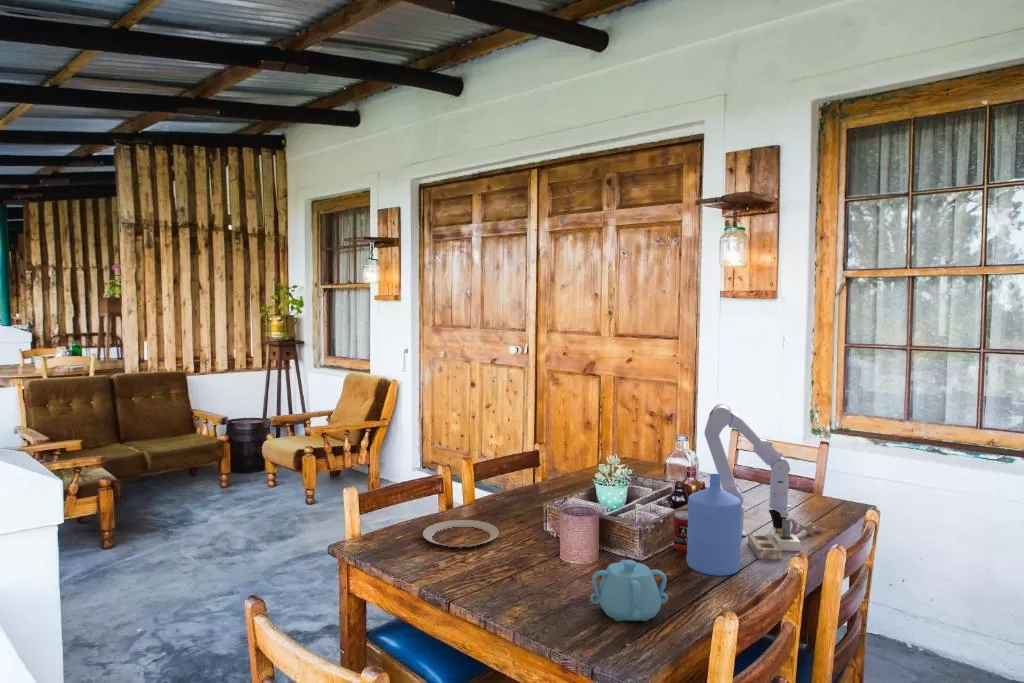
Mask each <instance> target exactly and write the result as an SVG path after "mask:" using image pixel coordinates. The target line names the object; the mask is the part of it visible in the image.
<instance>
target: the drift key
mask: <svg viewBox="0 0 1024 683" xmlns="http://www.w3.org/2000/svg"><path fill="white" fill-rule="evenodd" d="M773 531H774V532H773V533H774V534H780V535H781V538H782V528H777V527H774V528H773Z"/></svg>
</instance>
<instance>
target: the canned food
mask: <svg viewBox="0 0 1024 683" xmlns="http://www.w3.org/2000/svg"><path fill="white" fill-rule="evenodd" d="M673 516H674V517H673V546H674V549H676V550H678V551H680V552H685V553H687V528H688V510H679V511H676V512H674V515H673Z"/></svg>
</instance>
